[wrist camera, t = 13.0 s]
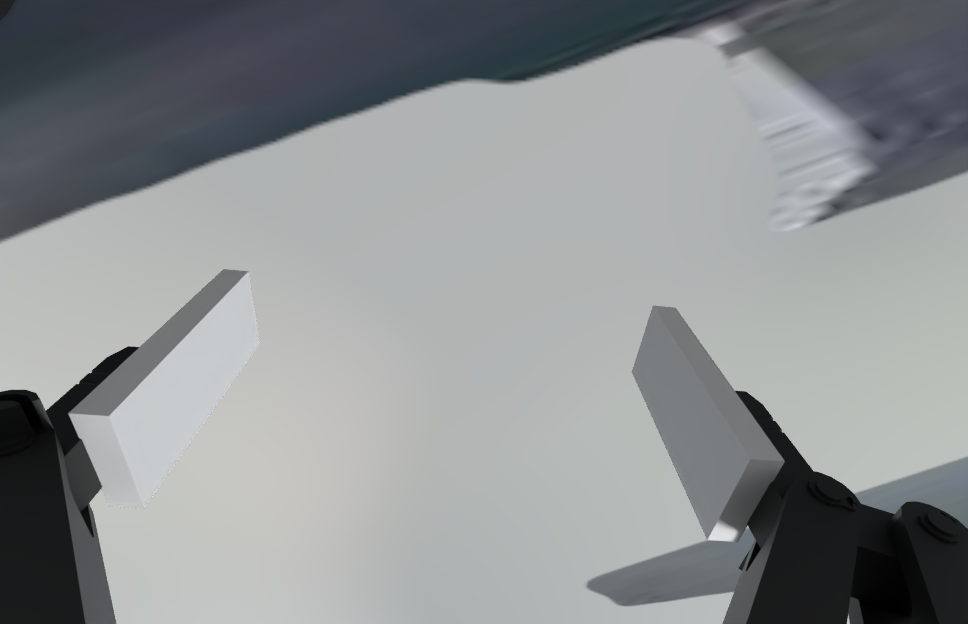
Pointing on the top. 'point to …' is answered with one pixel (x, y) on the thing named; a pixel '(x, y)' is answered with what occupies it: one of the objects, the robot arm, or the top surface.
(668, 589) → the top surface
